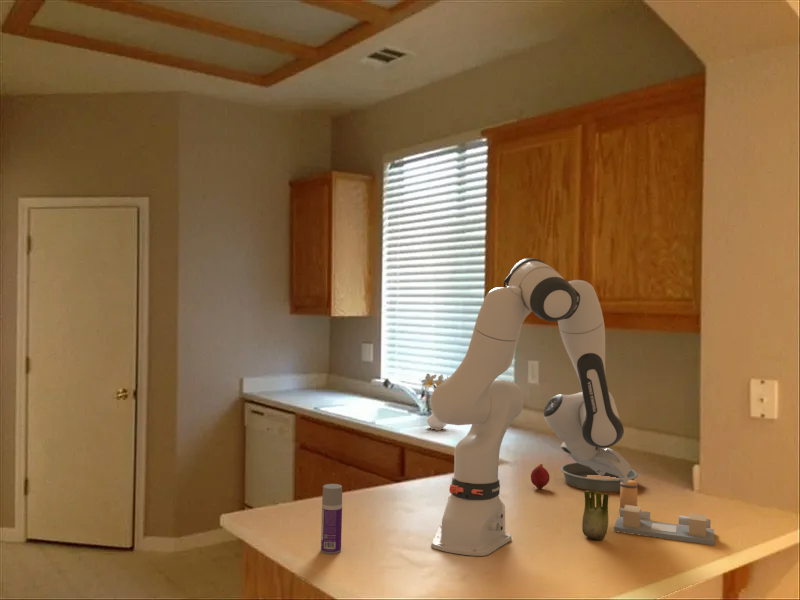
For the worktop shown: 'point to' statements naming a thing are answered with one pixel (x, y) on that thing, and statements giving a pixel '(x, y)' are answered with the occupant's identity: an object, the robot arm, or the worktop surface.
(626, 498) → the sleeve
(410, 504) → the worktop surface
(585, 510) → the fennel bulb
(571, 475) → the cake pan
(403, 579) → the worktop surface
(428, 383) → the flower vase
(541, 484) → the onion
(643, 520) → the bench
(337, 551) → the container
